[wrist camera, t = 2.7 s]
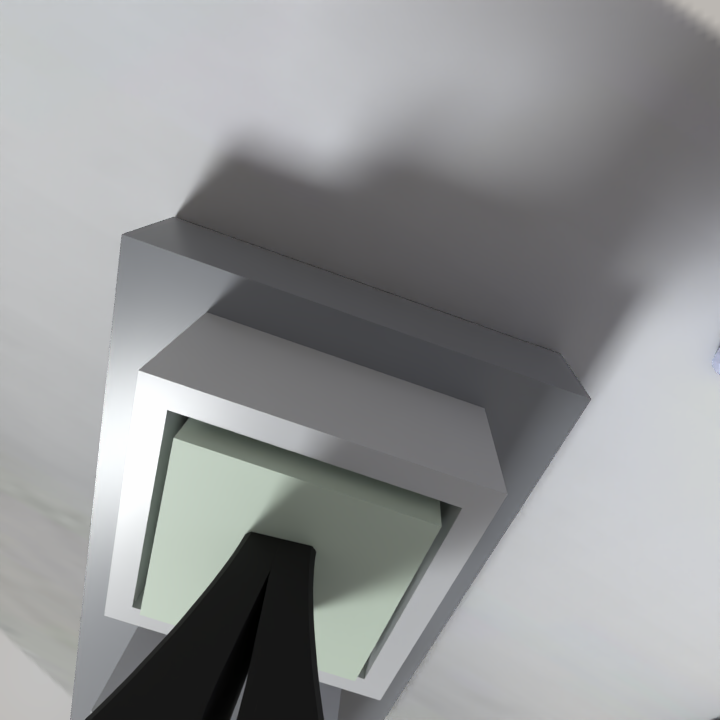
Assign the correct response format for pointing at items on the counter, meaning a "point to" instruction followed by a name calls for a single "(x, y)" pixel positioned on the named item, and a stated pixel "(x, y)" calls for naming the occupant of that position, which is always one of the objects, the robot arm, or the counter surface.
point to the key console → (307, 429)
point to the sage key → (288, 534)
